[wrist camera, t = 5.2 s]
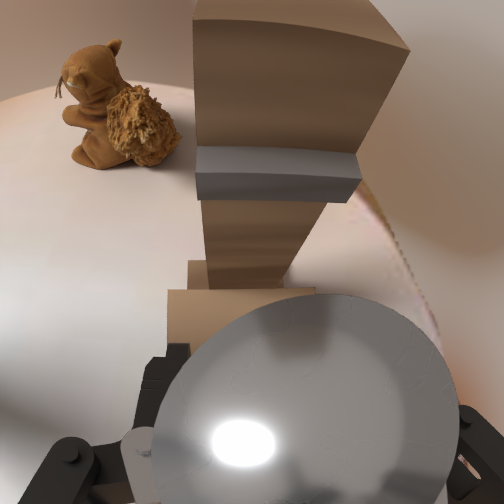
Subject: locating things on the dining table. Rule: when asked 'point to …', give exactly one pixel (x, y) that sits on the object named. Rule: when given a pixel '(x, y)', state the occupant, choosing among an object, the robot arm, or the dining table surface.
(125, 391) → the dining table surface
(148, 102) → the stuffed squirrel
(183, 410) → the steel cylinder
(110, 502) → the robot arm
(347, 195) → the walnut standard
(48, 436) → the dining table surface
